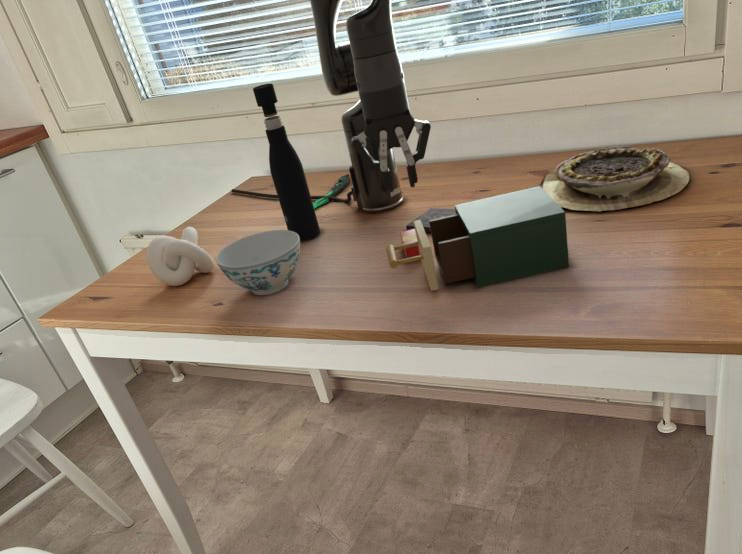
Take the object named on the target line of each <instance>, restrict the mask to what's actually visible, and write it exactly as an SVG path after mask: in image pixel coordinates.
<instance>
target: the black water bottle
mask: <svg viewBox="0 0 742 554" xmlns="http://www.w3.org/2000/svg"><path fill="white" fill-rule="evenodd" d="M252 91H253V95H254V98H255V101H256V105H257V107H259V108H261V110H262V113H263V117H264V118H265V119H264V120H263V121H264V122H263V124H264V125H265V135H266V138H267V142H268V145H269V147H268V163H269V171H270V175H271V179H272V183H273V185H274V188H275V192H276V195H278V198H277V199H278V202H279V206H280V208H281V213H282V216H283V218H284V222H285V225H286V230H288V231H293V232H295V233H297V234H298V235H299V238H300V243H301V242H307V241H309V240H312V239H314V238H316V237H318V236H319V235H320V234H321V229H320V225H319V221H318V218H317V217H318V216H317V214H316V210H315V209H314V206H313V203H314V202H313V199H311V196H312V195H311V191H310V188H309V185H308V181H307V178H306V174H305V170H304V167H303V163H302V161H301V158H300V157H299V155H298V153H297V151H296V149H295V148H294V146H293V145H292V143H291V142H290V140H289V138H288V134H287V131H286V127H285V125H283V121H282V118H281V115H278V111H277V110H278V109H277V107H276V104H277V103H278V98H277V97H278V96H277V93H276V90H275V87H274V84H273V83H264V84H260V85H257V86H254V87H252Z"/></svg>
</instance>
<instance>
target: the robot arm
mask: <svg viewBox="0 0 742 554" xmlns="http://www.w3.org/2000/svg"><path fill="white" fill-rule="evenodd" d="M309 3H310V8H311V12H312V17H313V18H312V19H313V23H314V30H315V36H316V43H317V49H318V55H319V62H320V68H321V73H322V78H323V81H324V85H325V87H326V89H327V91H328V92H329V94H330V95H331V96H333V97H339V96H344V95H349V94H352V93H356V92H358V96H359V100H358V101H357V102H356V104H354V105H353V106H352V107H351V108H349V109H348V110H346V111H345V112H344V113H343V114H342V115H341V121H340V122H341V125H342V130H343V133H344V139H345V143H346V146H347V151H348V155H349V160H350V163H351V165H350V166H349V168H348V171H349V177H350V181H351V184H352V186H351V187H350V190H349V192H348V193H346V194H347V195H346V199H344V198H339V197H335V196H334V197H332V196H325V195H311V199H312V200H318V199H320V198H324V197H329V199H330V200H329V201H334V202H337V203H338V202H339V203H350V202H351V201H352V200H353V202H356V205H357V210H358V211H360V212H361V211H363V212H365V213H366V212H367V213H377V212H378V213H379V212H383V211H387V210H391V209H393V208H395V207H398V206H399V205H401V204H402V203H403V202H404V196H403V194H402V193H403V192H402V188H401V183H400V178H399V172H398V168H397V163H396V159H395V153H394V148H401V150H402V153H403V156H404V158H405V160H406V163H405V167H406V172H407V178H408V183H409V186H410V188H411V189H412V188H415V187H416V184H418V179H419V178H418V174H417V168H416V164H417V163H418V162H419V161H420V160H423V159H424V158H425V156H426V151H427V146H428V142H429V137H430V132H431V128H432V125H431V123H430V122H429V121H428V120H427V119H424V120H419V119H416V118H415V117H414V116H413V115H412V113H411V109H410V104H409V99H408V93H407V88H406V87H407V86H406V82H405V74H404V71H403V66H402V61H401V58H400V56H399V51H398V49H397V42H396V37H395V31H394V26H393V18H392V0H371V1H370V3H369V5H367V6H366V7H364V8H363V9H361V10H359V11H358V12H356V13H353V14H352V15H351V16H349V17H348V18H347V19H346V22H345V23H346V24H345V26H346V34H347V37H348V41H343V42H339V43H336V29H337V22H338V17H339V12H340V9H341V6H342V3H343V0H309ZM414 127H415V131H416V134H417V135H418V138H417V143H416V147H415V151H414V152H412V151H411V148H410V146H409V143H408V141H409V139H410V136H411V134H412V132H413V129H414ZM230 190H231V193H234V194H235V193H236V194H242V195H248V196H254V197H261V198H268V199H269V198H270V199H278V195H277V194H273V193H272V194H271V193H262V192H255V191H249V190H242V189H236V188H235V189H234V188H232V189H230Z"/></svg>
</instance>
